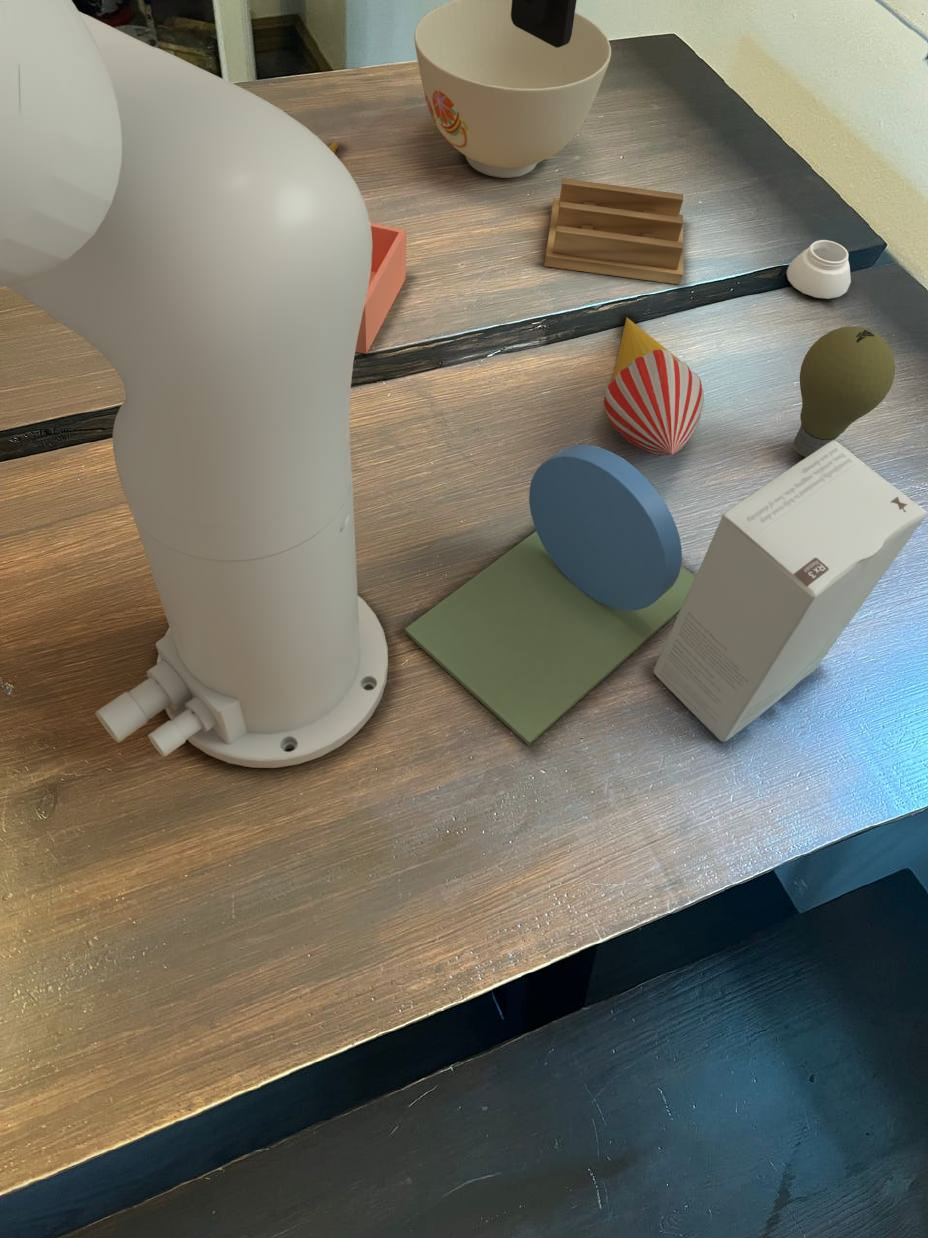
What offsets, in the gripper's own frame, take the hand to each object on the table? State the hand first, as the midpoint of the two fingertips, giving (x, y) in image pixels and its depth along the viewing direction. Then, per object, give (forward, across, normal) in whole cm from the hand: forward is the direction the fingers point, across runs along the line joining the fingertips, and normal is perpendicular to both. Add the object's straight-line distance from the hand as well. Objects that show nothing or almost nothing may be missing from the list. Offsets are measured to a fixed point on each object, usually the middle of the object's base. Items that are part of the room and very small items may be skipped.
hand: (610, 5), depth 45 cm
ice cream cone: (+27, -7, +4) cm, 28 cm away
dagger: (+27, -7, -33) cm, 43 cm away
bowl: (+27, -22, -25) cm, 43 cm away
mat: (+26, +11, +12) cm, 31 cm away
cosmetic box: (+26, +7, +22) cm, 35 cm away
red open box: (+27, +5, -23) cm, 36 cm away
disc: (+21, +8, +12) cm, 26 cm away
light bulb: (+27, -12, +14) cm, 32 cm away
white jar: (+27, -29, +4) cm, 40 cm away
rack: (+26, -20, -10) cm, 35 cm away
